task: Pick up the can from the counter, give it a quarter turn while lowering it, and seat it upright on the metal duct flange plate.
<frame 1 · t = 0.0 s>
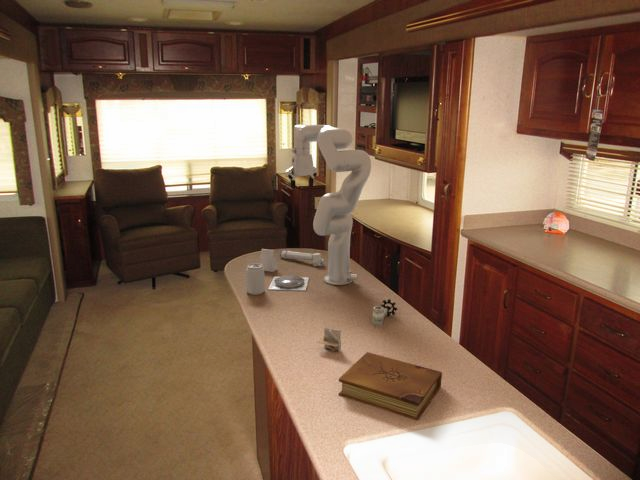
hand: (302, 187, 249), 37 cm above the table, tool pointing down, fingers open, 9 cm apart
can: (255, 292, 218), on the table
valve: (382, 321, 191), on the table
architectural model: (331, 351, 169), on the table
diary: (390, 392, 146), on the table
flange: (289, 283, 228), on the table
tea bag: (268, 270, 247), on the table
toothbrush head: (301, 262, 259), on the table
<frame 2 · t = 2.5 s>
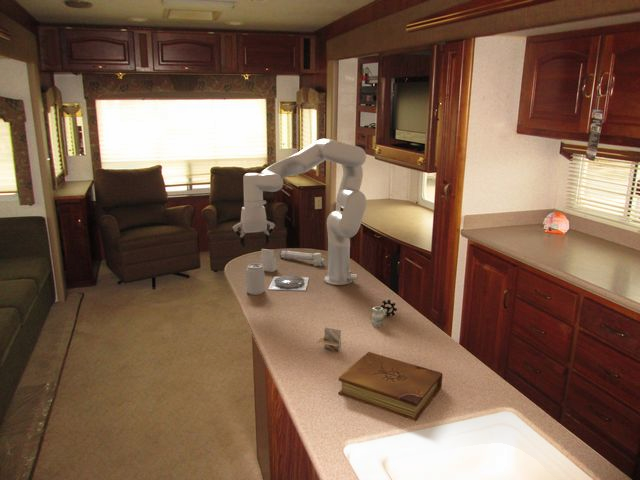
hand: (254, 245, 213), 21 cm above the table, tool pointing down, fingers open, 9 cm apart
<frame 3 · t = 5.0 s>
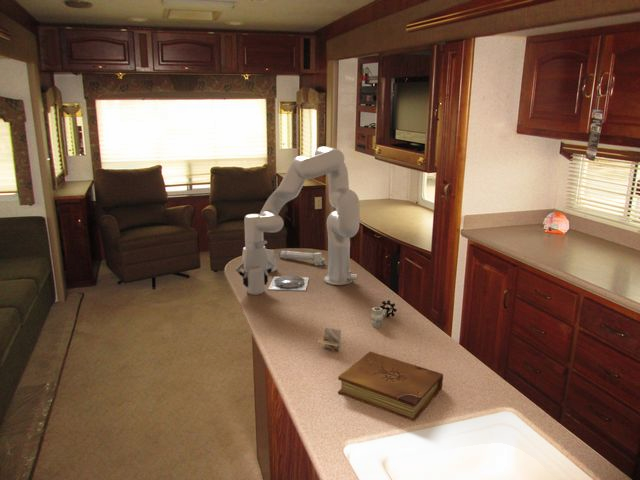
hand: (255, 284, 217), 3 cm above the table, tool pointing down, fingers closed on can, 7 cm apart
can: (255, 292, 218), on the table, touching gripper
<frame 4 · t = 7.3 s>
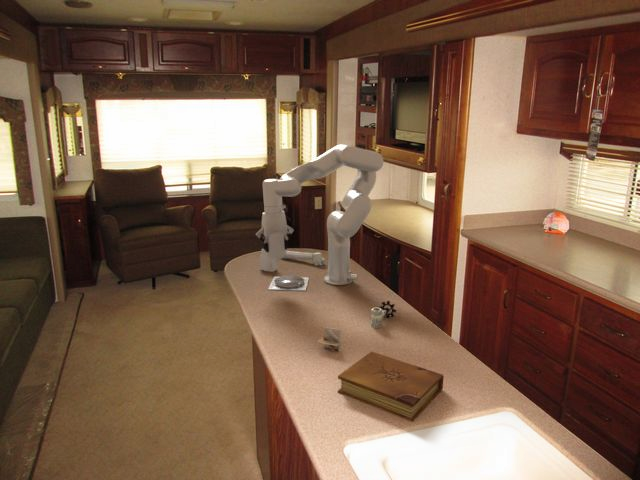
hand: (276, 249, 219), 17 cm above the table, tool pointing down, fingers closed on can, 7 cm apart
can: (276, 257, 220), point 13 cm above the table, touching gripper
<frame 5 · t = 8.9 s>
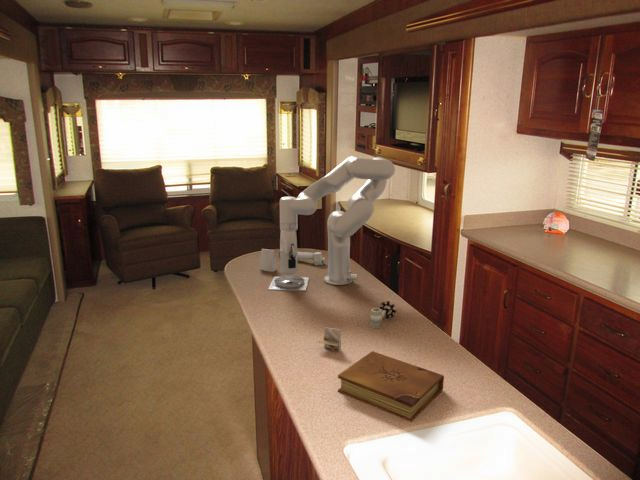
hand: (289, 265, 226), 9 cm above the table, tool pointing down, fingers closed on can, 7 cm apart
can: (289, 272, 227), point 5 cm above the table, touching gripper
when the fingers open (6 cm above the table, at t = 9.9 s): can drops 1 cm, resting on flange.
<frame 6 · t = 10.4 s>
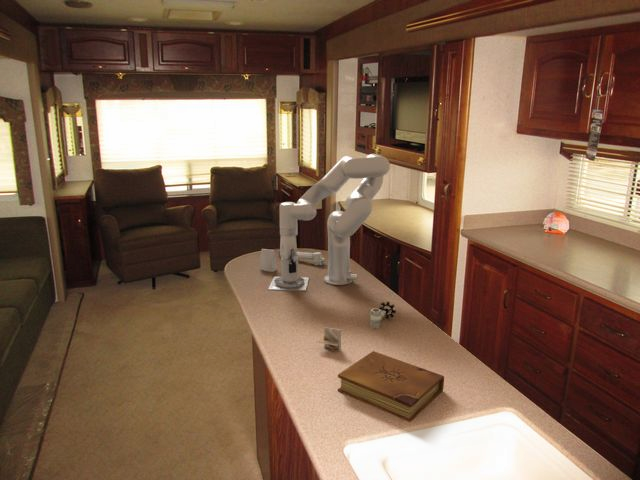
hand: (289, 269, 226), 7 cm above the table, tool pointing down, fingers open, 9 cm apart
can: (289, 280, 228), point 1 cm above the table, touching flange
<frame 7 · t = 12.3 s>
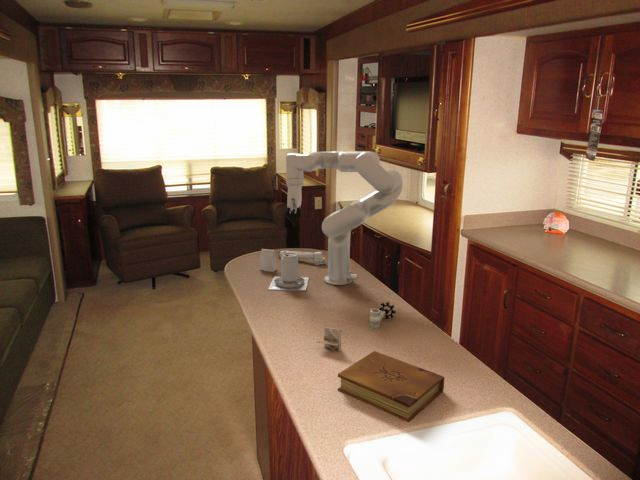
hand: (295, 219, 232), 26 cm above the table, tool pointing down, fingers open, 9 cm apart
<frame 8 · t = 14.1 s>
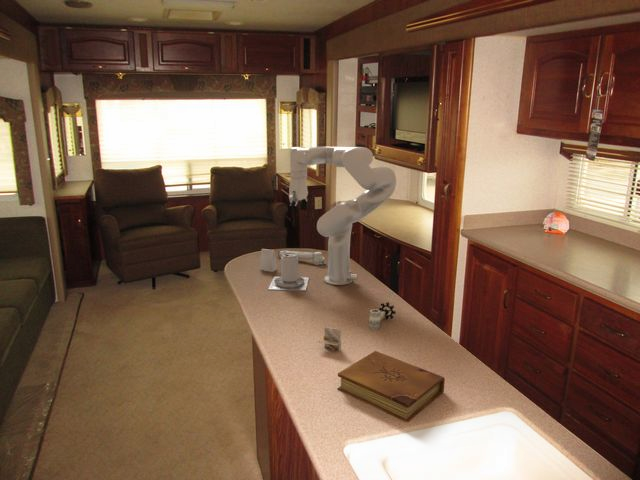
hand: (299, 212, 238), 28 cm above the table, tool pointing down, fingers open, 9 cm apart
at the end: can 0.3 cm from the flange (horizontally); can tilted 0°; can touching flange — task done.
